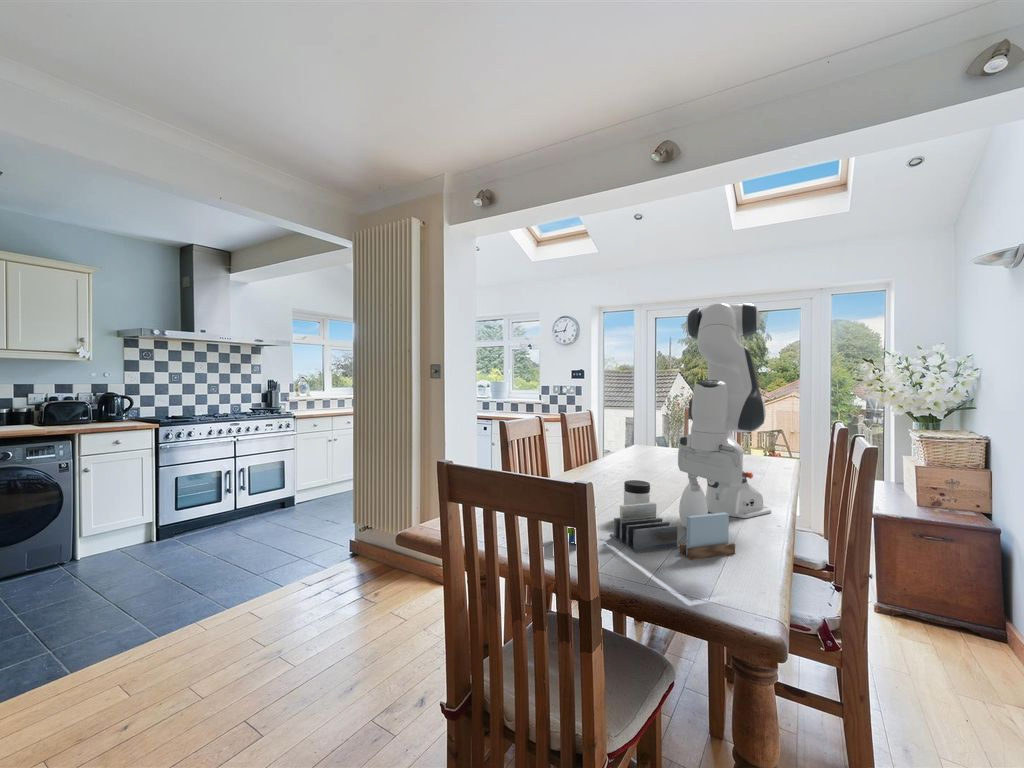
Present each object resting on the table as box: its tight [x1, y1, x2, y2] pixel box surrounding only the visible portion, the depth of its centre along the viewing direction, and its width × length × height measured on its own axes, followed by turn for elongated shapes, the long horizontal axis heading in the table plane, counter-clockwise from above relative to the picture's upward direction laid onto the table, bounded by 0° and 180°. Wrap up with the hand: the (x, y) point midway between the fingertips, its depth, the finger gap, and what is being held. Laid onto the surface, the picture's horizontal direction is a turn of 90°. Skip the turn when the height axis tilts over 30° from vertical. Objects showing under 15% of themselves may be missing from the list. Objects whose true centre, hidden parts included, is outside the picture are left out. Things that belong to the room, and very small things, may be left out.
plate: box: [686, 512, 730, 555], centre depth 121 cm, size 12×1×10 cm, turn 107°
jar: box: [623, 479, 651, 505], centre depth 151 cm, size 9×8×12 cm
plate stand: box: [678, 542, 737, 561], centre depth 121 cm, size 14×5×3 cm, turn 107°
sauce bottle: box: [678, 480, 709, 529], centre depth 139 cm, size 8×8×18 cm
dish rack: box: [609, 502, 680, 554], centre depth 129 cm, size 14×14×10 cm
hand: (707, 495), depth 120 cm, fingers open, 8 cm apart
